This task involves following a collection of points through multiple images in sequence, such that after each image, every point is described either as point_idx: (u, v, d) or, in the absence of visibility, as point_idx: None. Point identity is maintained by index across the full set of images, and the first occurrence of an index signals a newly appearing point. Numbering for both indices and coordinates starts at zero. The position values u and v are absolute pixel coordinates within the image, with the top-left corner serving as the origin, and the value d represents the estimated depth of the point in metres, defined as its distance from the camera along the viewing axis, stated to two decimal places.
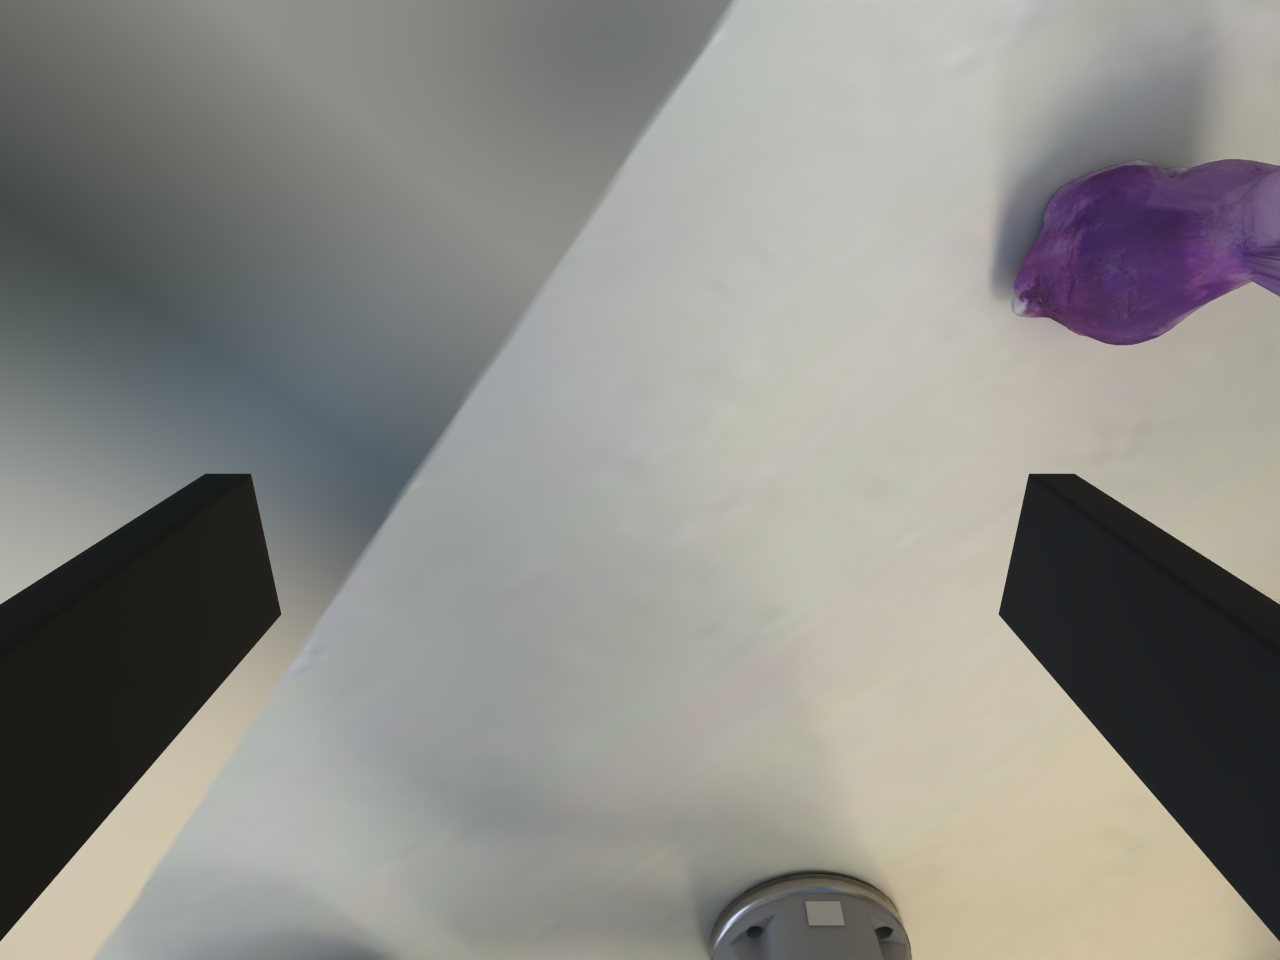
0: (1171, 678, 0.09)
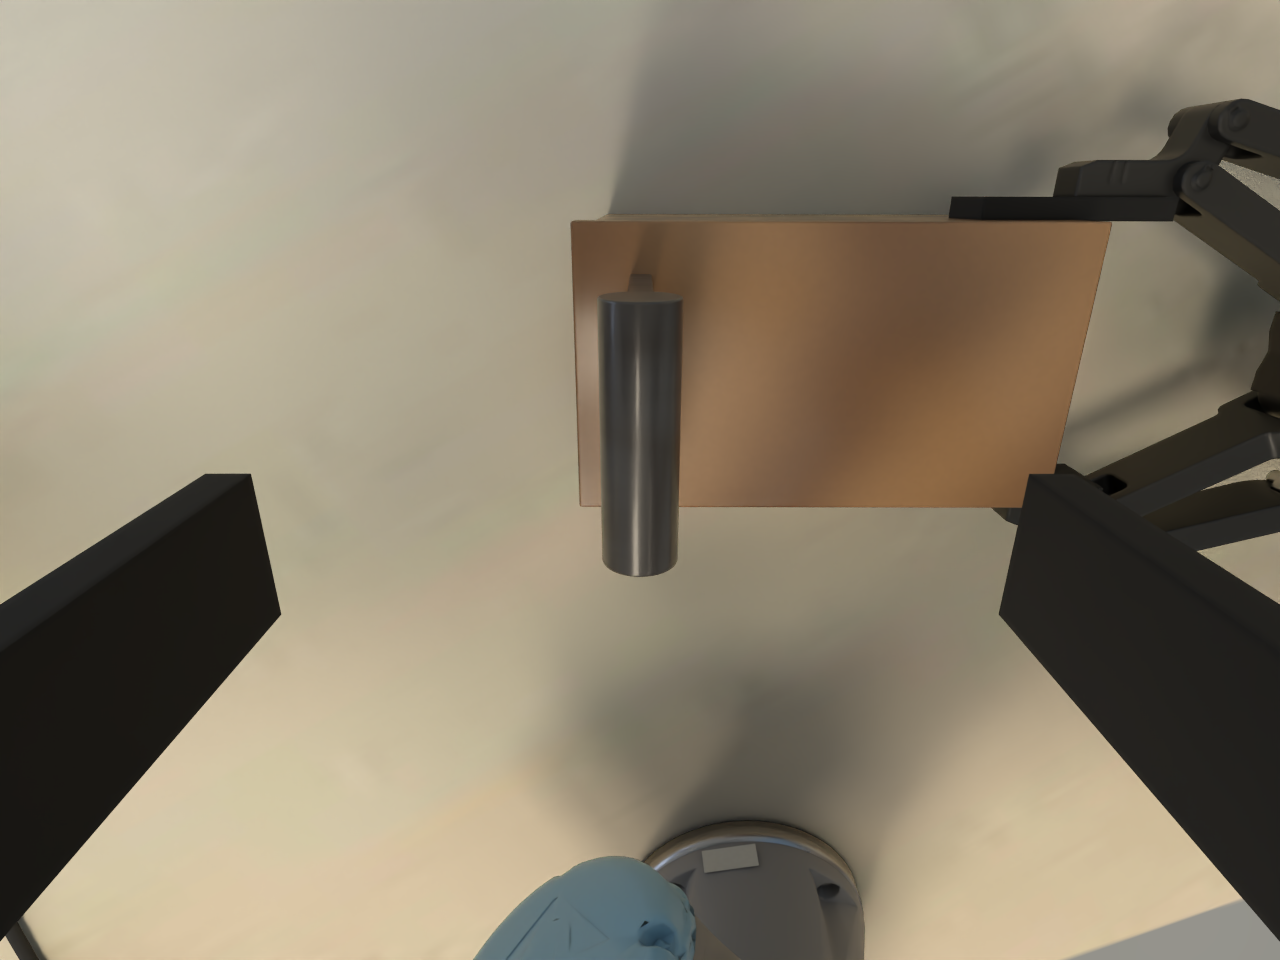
0: (1171, 678, 0.09)
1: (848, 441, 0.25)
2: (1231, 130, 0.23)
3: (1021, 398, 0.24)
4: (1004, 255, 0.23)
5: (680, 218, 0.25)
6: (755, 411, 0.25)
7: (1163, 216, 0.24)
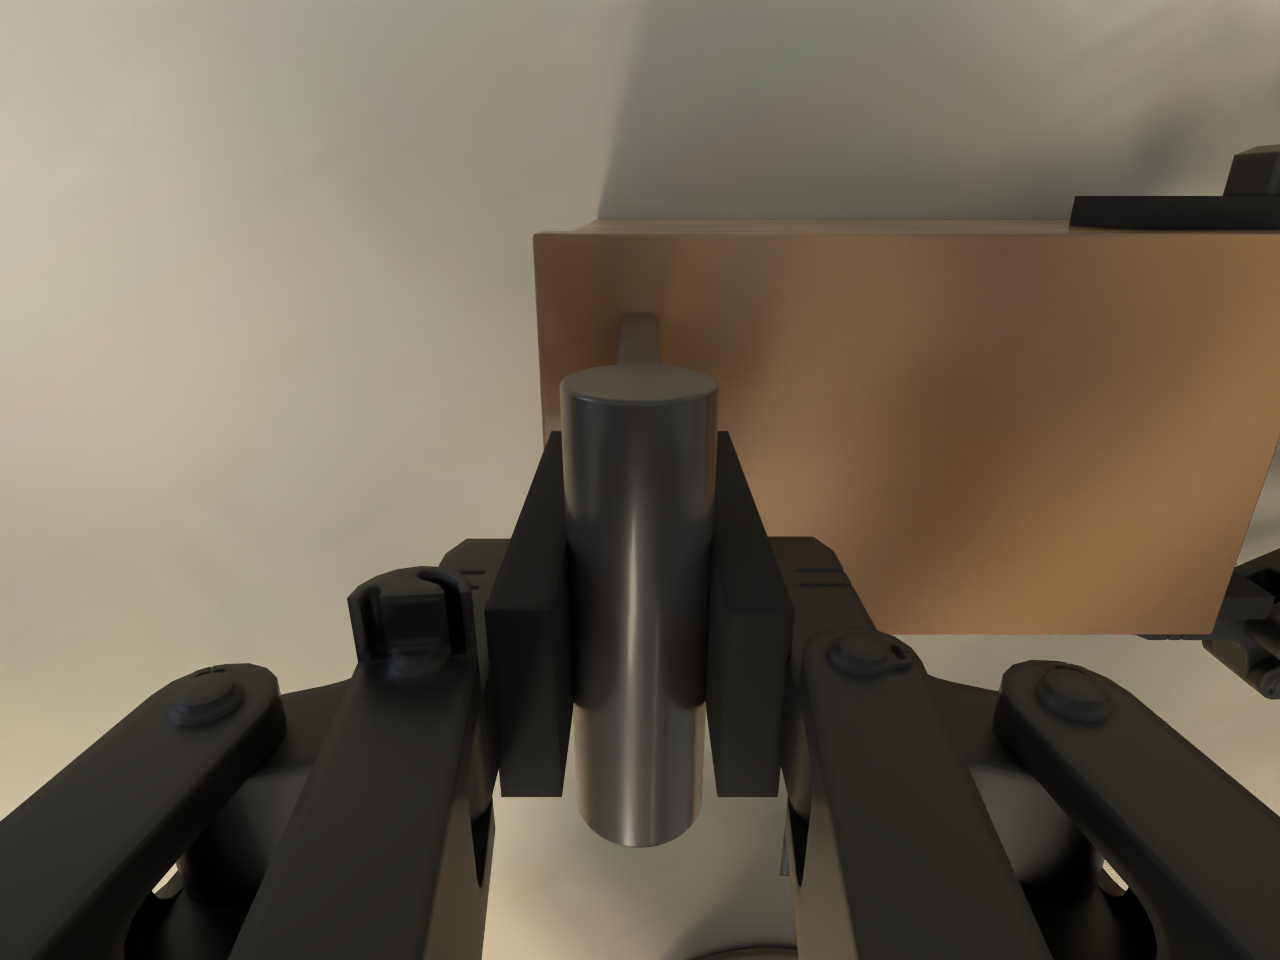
0: None
1: (936, 547, 0.17)
2: None
3: (1190, 488, 0.17)
4: (1184, 283, 0.15)
5: (695, 227, 0.18)
6: (805, 506, 0.17)
7: None
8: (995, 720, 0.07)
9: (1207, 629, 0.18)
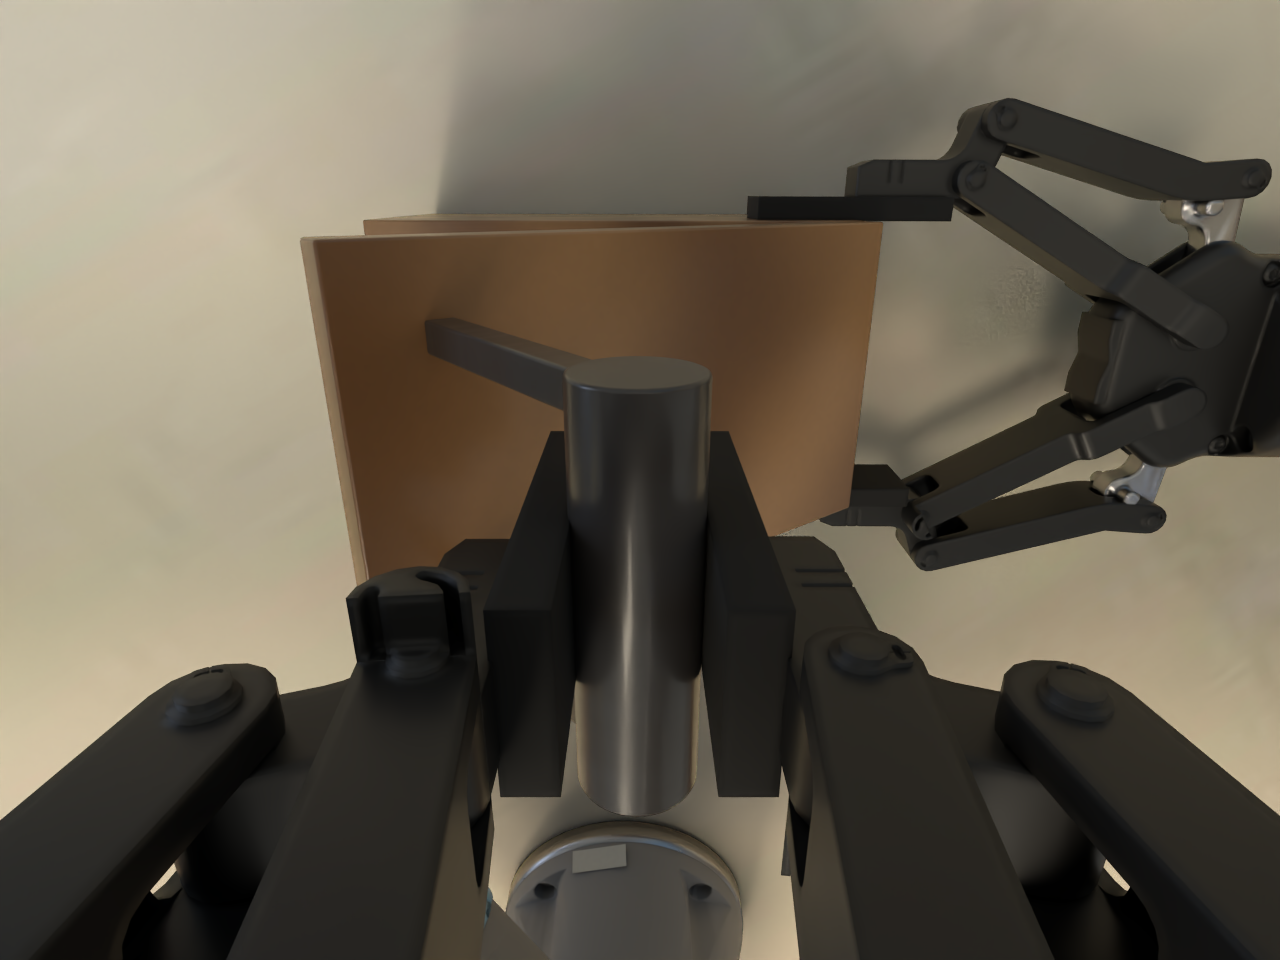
0: (704, 581, 0.11)
1: None
2: (1000, 130, 0.23)
3: (830, 407, 0.23)
4: (814, 260, 0.21)
5: (465, 218, 0.25)
6: None
7: (940, 216, 0.24)
8: (996, 720, 0.07)
9: (847, 504, 0.26)
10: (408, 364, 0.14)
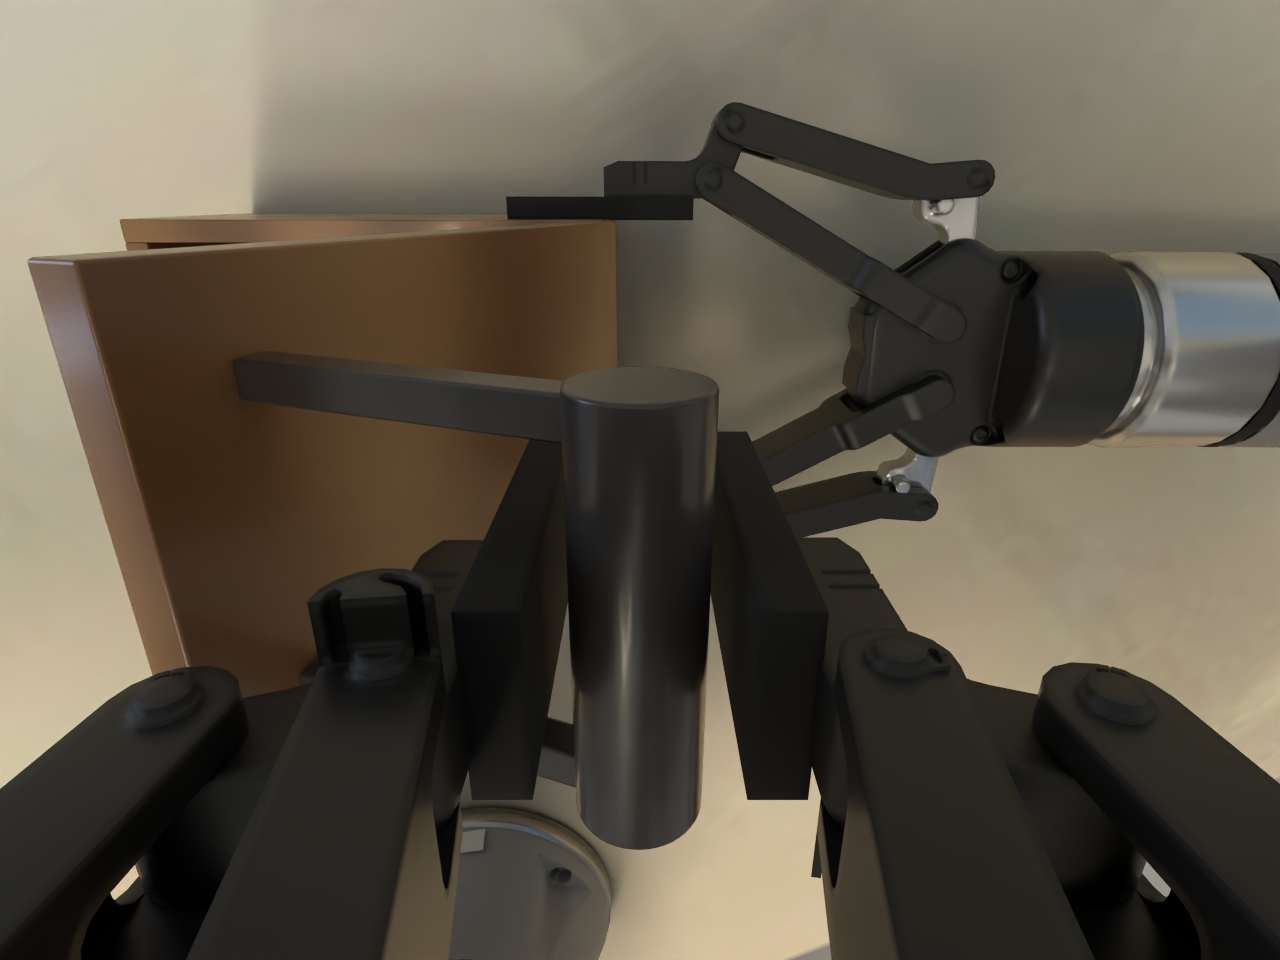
0: (728, 583, 0.11)
1: None
2: (730, 132, 0.24)
3: None
4: (574, 259, 0.21)
5: None
6: (433, 517, 0.17)
7: (682, 215, 0.25)
8: (1035, 723, 0.07)
9: None
10: (219, 417, 0.11)
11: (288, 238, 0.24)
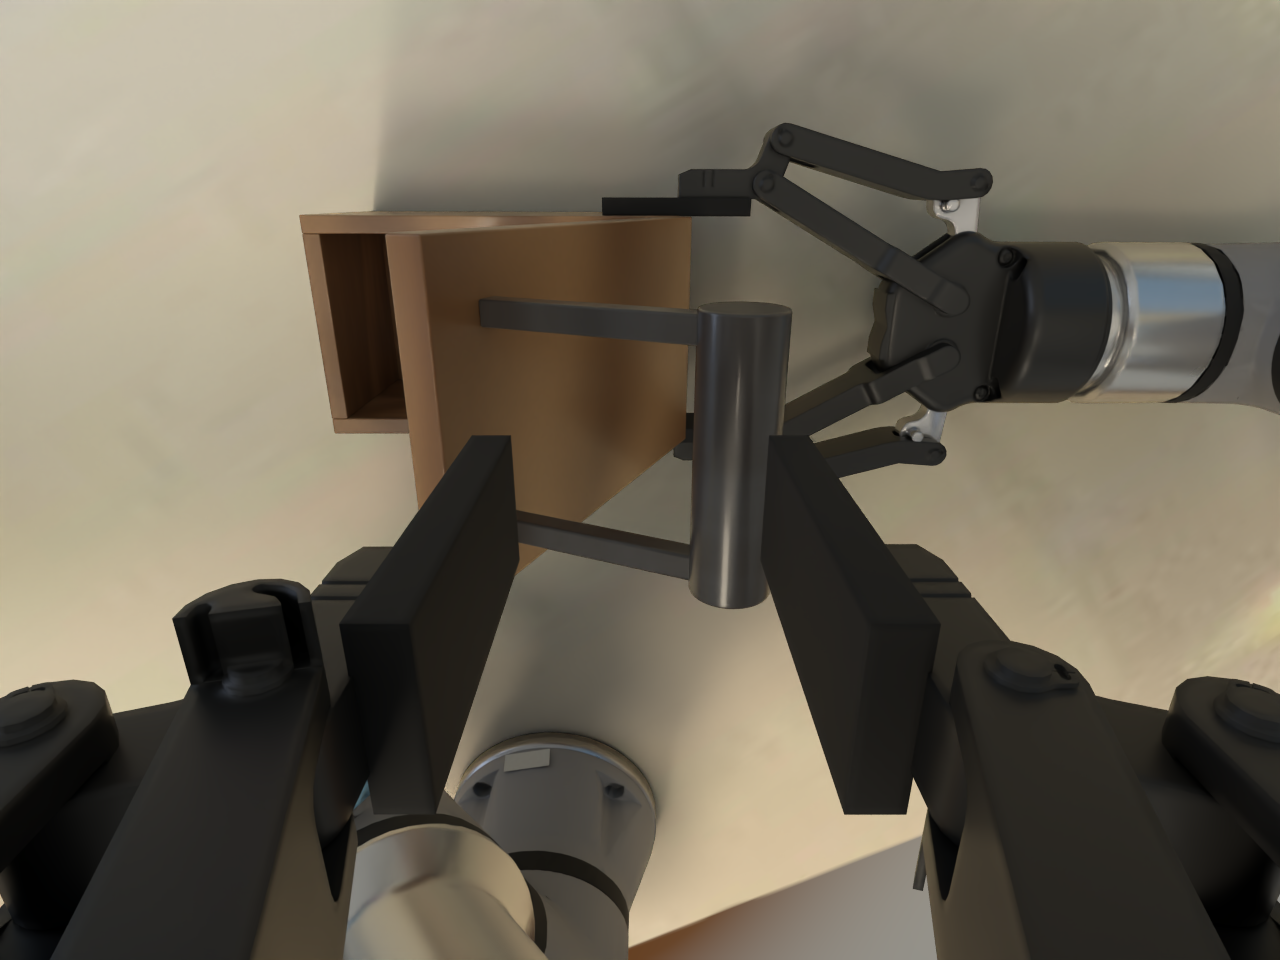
0: (808, 591, 0.11)
1: (615, 431, 0.26)
2: (781, 146, 0.30)
3: (674, 359, 0.30)
4: (662, 246, 0.28)
5: None
6: (569, 428, 0.23)
7: (742, 212, 0.31)
8: (1168, 740, 0.07)
9: (685, 436, 0.33)
10: (470, 336, 0.18)
11: None
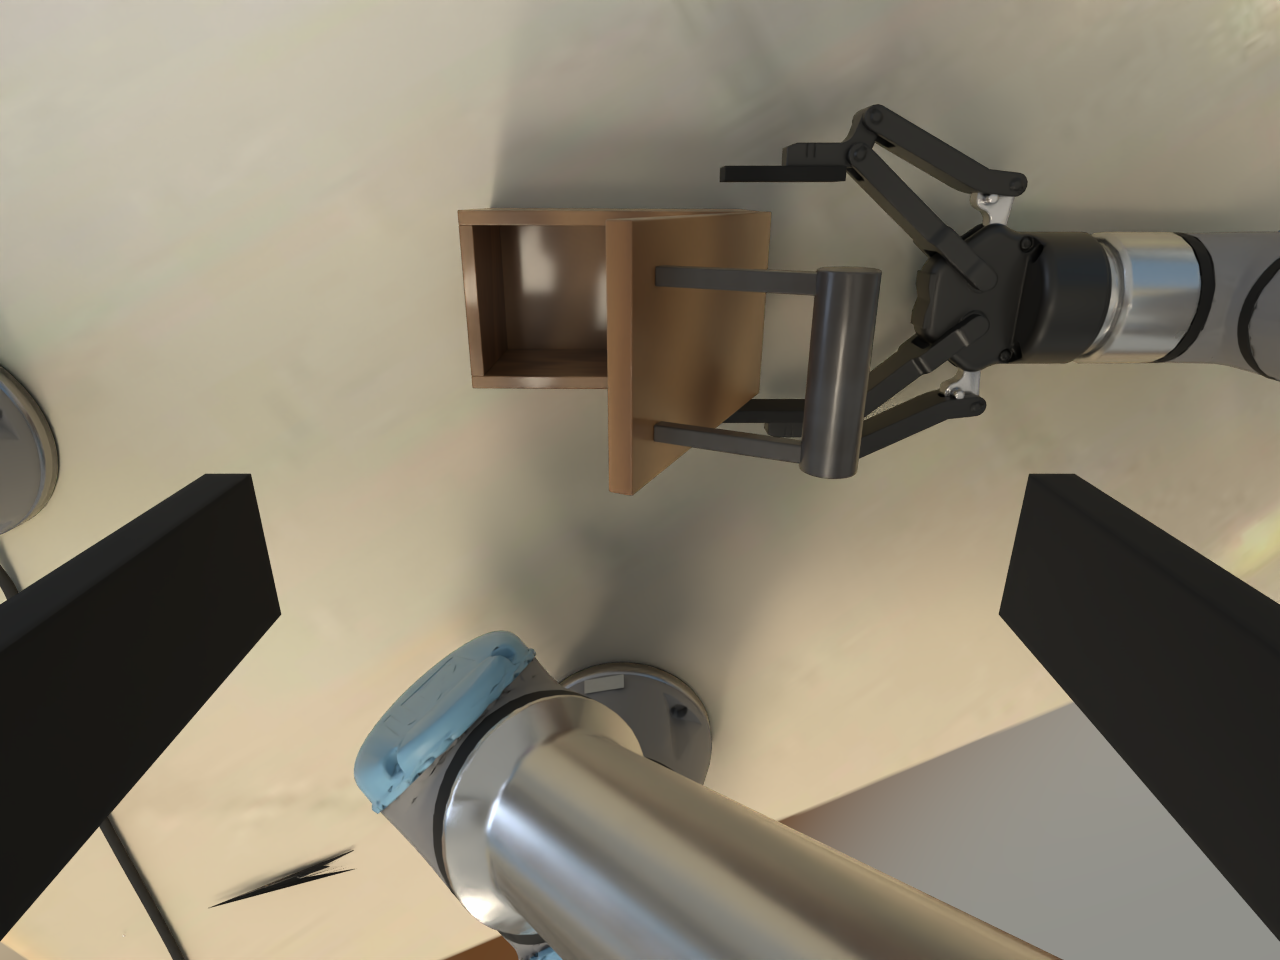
0: (1171, 679, 0.09)
1: (718, 377, 0.34)
2: (872, 123, 0.37)
3: (755, 326, 0.38)
4: (752, 234, 0.35)
5: None
6: (694, 368, 0.31)
7: (838, 178, 0.38)
8: None
9: None
10: (649, 292, 0.25)
11: (561, 222, 0.38)
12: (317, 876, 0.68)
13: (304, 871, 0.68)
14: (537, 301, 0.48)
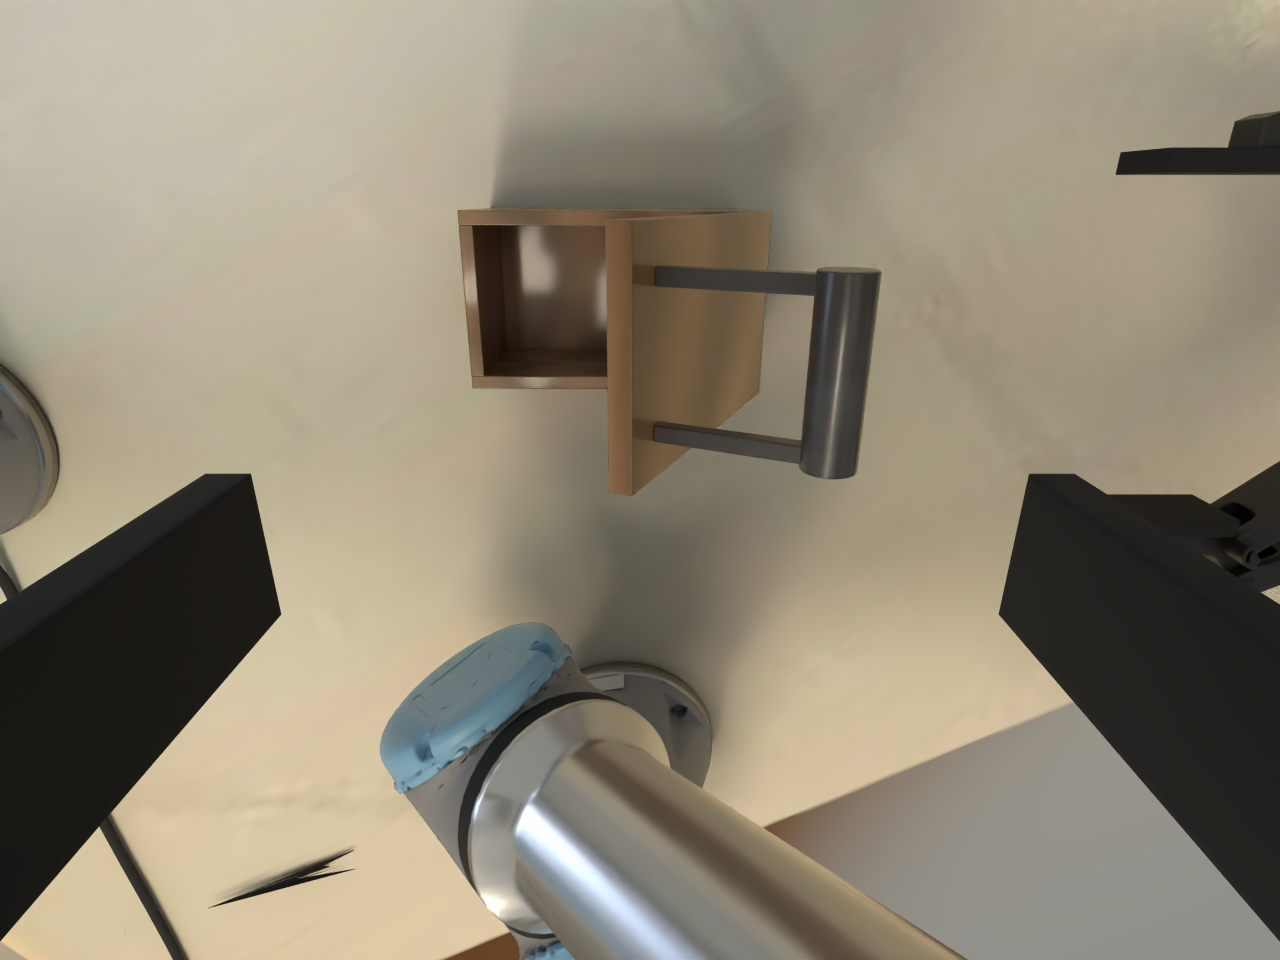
0: (1171, 679, 0.09)
1: (718, 377, 0.34)
2: None
3: (755, 326, 0.38)
4: (752, 234, 0.35)
5: None
6: (694, 368, 0.31)
7: None
8: None
9: None
10: (649, 292, 0.25)
11: (561, 222, 0.38)
12: (317, 876, 0.68)
13: (304, 871, 0.68)
14: (537, 301, 0.48)
